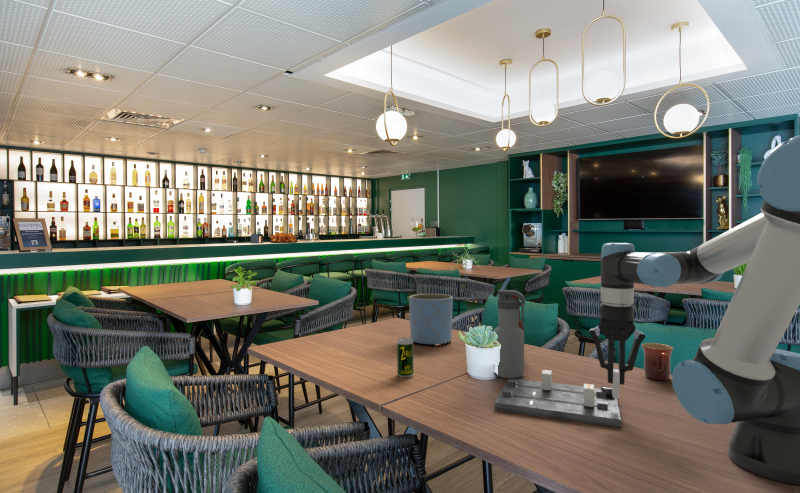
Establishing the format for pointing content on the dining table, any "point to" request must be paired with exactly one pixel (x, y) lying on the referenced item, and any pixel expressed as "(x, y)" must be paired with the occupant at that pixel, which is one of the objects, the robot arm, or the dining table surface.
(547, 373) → the fader
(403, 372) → the beer can
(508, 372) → the water bottle
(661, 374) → the mug
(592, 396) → the block
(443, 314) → the planter
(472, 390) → the dining table surface
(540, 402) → the console board
